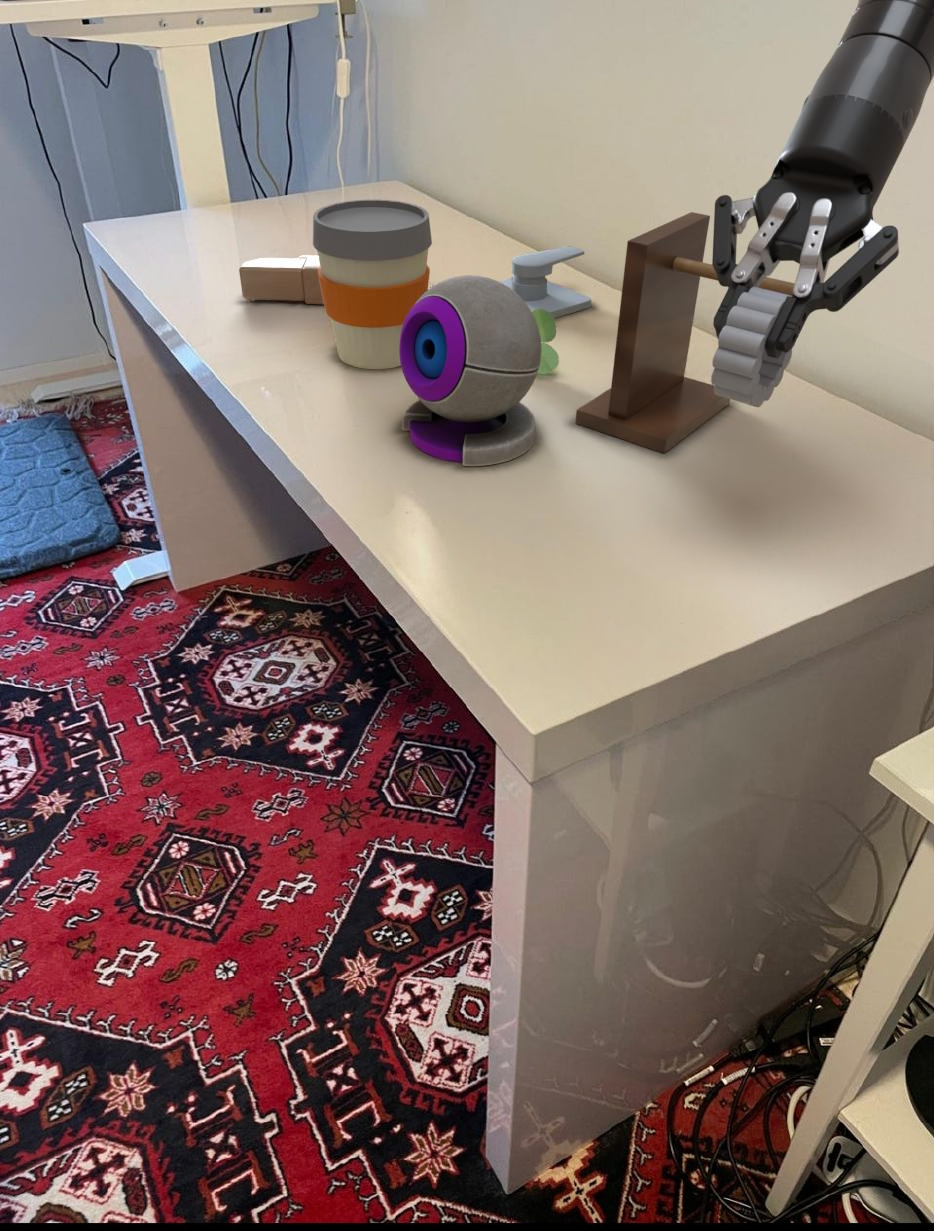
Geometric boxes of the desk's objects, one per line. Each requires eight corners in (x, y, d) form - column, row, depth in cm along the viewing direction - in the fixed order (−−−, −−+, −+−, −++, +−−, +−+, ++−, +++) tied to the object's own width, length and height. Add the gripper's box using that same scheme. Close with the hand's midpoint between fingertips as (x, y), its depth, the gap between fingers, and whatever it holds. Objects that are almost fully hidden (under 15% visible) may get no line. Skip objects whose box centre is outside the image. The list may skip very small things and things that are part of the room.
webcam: (377, 428, 93) (370, 274, 84) (476, 393, 100) (480, 247, 91) (462, 480, 86) (464, 316, 76) (563, 439, 92) (576, 283, 83)
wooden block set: (382, 262, 116) (236, 258, 117) (384, 307, 120) (242, 304, 120) (396, 221, 130) (264, 218, 130) (397, 264, 133) (269, 260, 134)
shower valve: (613, 258, 119) (523, 282, 111) (608, 302, 122) (521, 328, 115) (545, 234, 127) (457, 255, 119) (542, 276, 130) (457, 299, 122)
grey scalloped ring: (785, 386, 73) (810, 283, 68) (741, 422, 68) (763, 315, 63) (749, 375, 75) (770, 274, 70) (703, 410, 70) (722, 305, 65)
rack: (575, 423, 95) (591, 236, 84) (644, 378, 104) (668, 204, 93) (751, 483, 86) (795, 282, 75) (810, 428, 95) (858, 241, 84)
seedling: (531, 399, 110) (527, 391, 104) (488, 346, 111) (481, 335, 104) (580, 358, 109) (579, 347, 103) (536, 304, 109) (532, 290, 103)
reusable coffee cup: (451, 343, 111) (451, 207, 102) (400, 384, 102) (396, 239, 93) (357, 325, 115) (349, 193, 106) (300, 363, 106) (286, 222, 97)
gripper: (953, 177, 67) (847, 395, 67) (766, 147, 74) (669, 346, 74) (956, 104, 61) (838, 346, 61) (751, 79, 68) (644, 296, 67)
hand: (746, 344), depth 67 cm, fingers closed on grey scalloped ring, 3 cm apart
